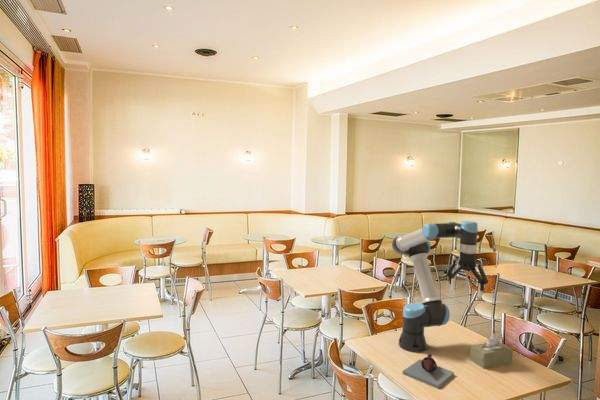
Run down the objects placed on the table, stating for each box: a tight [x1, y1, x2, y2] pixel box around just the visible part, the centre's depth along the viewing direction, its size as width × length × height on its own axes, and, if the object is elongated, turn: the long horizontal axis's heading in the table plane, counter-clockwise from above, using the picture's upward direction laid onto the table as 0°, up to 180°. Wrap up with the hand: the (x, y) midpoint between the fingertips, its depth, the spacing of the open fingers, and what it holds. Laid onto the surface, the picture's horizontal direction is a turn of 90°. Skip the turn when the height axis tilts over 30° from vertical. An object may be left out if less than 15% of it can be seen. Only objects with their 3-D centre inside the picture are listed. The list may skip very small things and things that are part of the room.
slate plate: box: [402, 359, 455, 389], centre depth 193 cm, size 18×17×2 cm
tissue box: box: [469, 332, 514, 369], centre depth 207 cm, size 19×10×16 cm, turn 109°
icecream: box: [421, 353, 438, 372], centre depth 194 cm, size 7×7×15 cm
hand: (465, 293), depth 202 cm, fingers open, 13 cm apart
